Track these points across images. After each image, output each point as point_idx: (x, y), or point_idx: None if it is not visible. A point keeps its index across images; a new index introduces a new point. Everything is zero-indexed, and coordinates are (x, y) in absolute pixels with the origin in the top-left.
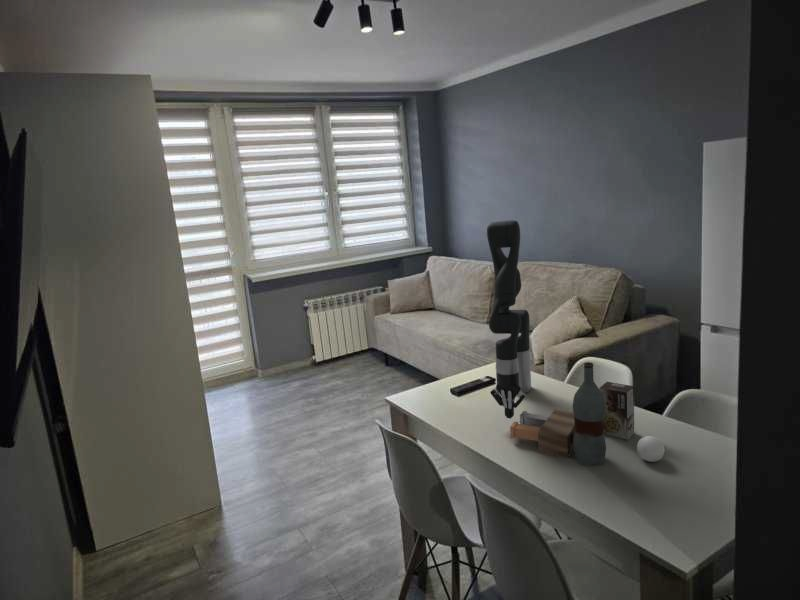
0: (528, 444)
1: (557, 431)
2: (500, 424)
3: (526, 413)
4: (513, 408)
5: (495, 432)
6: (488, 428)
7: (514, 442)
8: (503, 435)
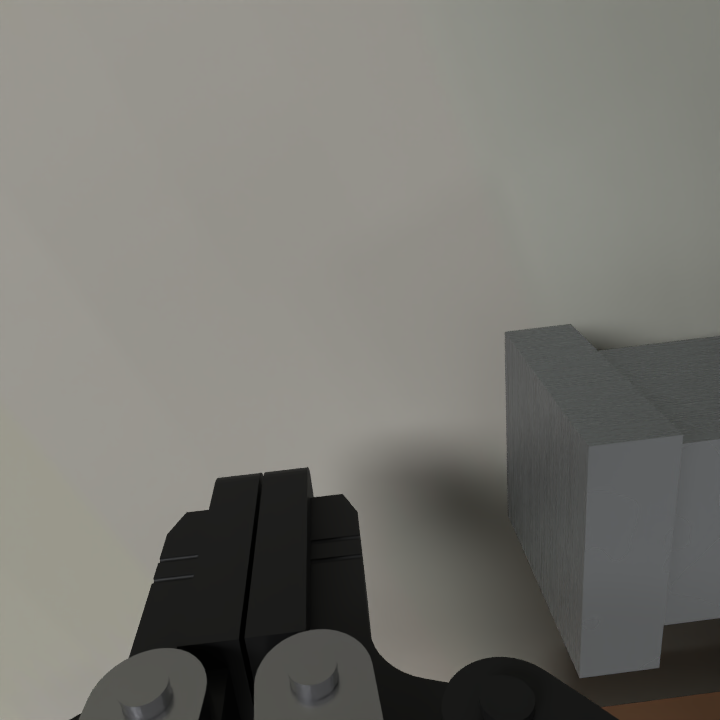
0: (690, 681)
1: None
2: (98, 411)
3: (665, 472)
4: (372, 652)
5: None
6: (34, 591)
7: None
8: None
